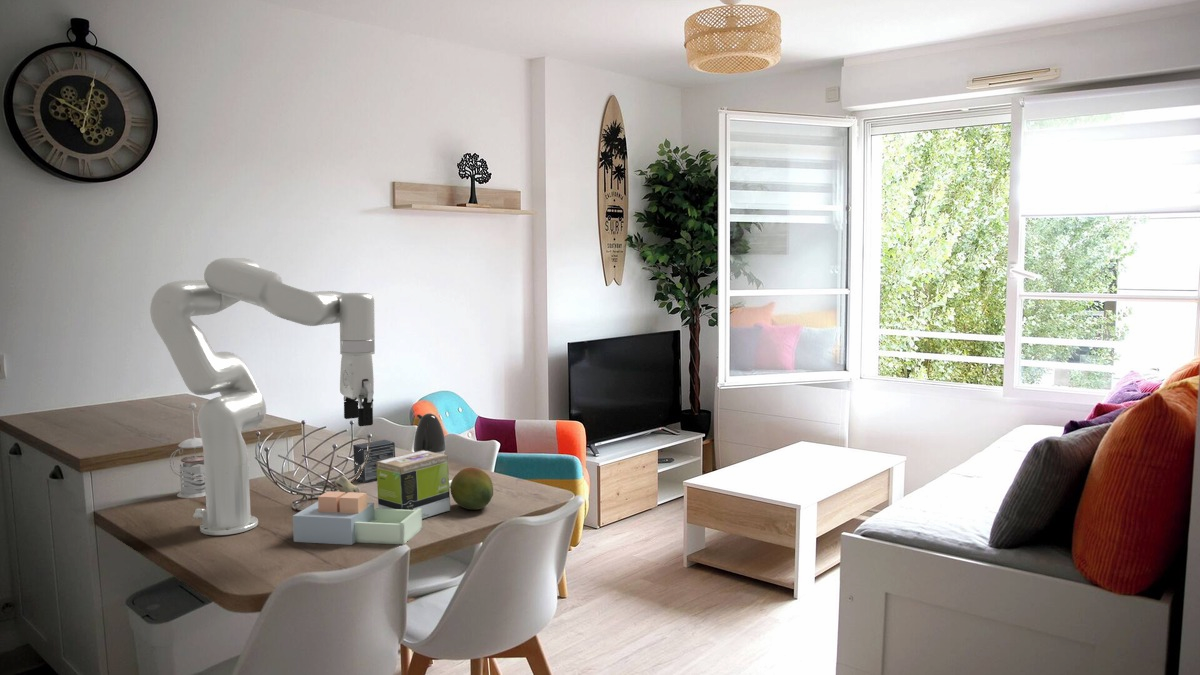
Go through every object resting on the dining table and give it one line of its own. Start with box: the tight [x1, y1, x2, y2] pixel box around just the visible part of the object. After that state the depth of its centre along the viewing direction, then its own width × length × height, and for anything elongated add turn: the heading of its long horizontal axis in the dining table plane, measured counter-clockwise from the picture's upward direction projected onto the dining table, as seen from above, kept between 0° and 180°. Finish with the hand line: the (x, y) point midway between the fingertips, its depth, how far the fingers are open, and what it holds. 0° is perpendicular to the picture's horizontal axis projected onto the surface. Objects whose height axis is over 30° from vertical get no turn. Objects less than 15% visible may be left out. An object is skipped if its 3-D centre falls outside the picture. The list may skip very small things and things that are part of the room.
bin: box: [355, 507, 423, 545], centre depth 187 cm, size 12×11×5 cm
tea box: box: [376, 450, 451, 520], centre depth 202 cm, size 15×10×15 cm, turn 141°
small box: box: [352, 439, 396, 484], centre depth 238 cm, size 11×6×10 cm, turn 133°
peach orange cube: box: [339, 492, 368, 513], centre depth 187 cm, size 4×4×4 cm
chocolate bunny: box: [334, 475, 362, 493], centre depth 203 cm, size 6×8×10 cm
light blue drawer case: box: [292, 501, 375, 546], centre depth 188 cm, size 14×12×6 cm
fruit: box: [450, 467, 494, 510], centre depth 208 cm, size 12×13×10 cm
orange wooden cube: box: [317, 490, 346, 512], centre depth 188 cm, size 4×4×4 cm
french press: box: [169, 402, 206, 499], centre depth 222 cm, size 10×12×25 cm
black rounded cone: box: [412, 413, 447, 454], centre depth 259 cm, size 10×10×15 cm
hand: (358, 421), depth 185 cm, fingers open, 9 cm apart
